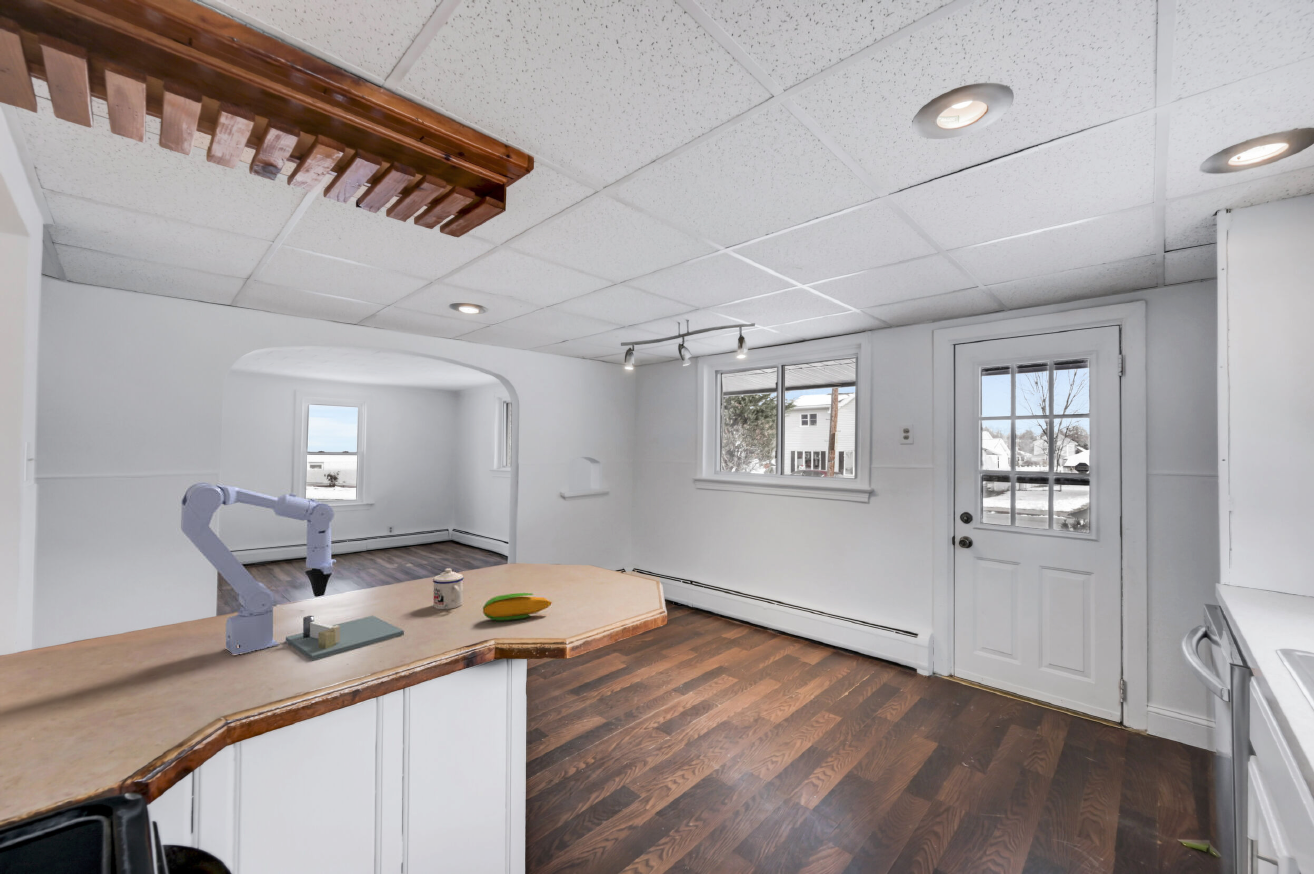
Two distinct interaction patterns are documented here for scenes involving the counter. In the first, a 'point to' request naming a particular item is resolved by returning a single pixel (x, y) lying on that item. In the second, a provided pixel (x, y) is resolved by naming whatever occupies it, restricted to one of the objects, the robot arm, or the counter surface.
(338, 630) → the gate
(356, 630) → the base board
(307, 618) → the gate posts
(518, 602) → the corn
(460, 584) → the teacup with lid
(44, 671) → the counter surface
